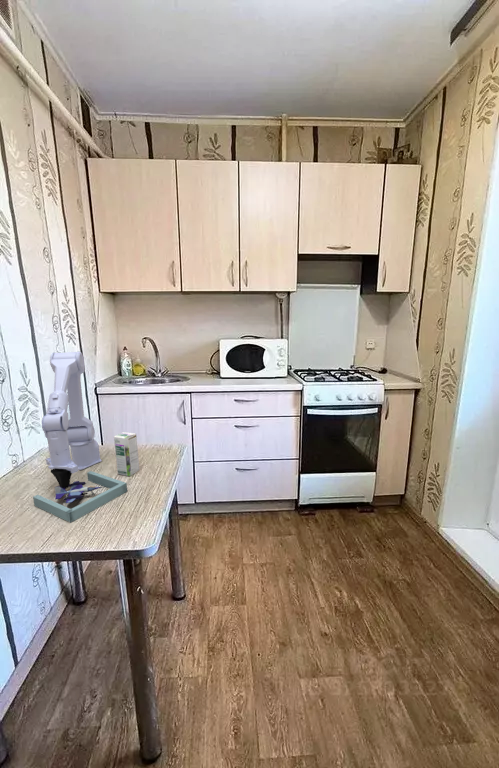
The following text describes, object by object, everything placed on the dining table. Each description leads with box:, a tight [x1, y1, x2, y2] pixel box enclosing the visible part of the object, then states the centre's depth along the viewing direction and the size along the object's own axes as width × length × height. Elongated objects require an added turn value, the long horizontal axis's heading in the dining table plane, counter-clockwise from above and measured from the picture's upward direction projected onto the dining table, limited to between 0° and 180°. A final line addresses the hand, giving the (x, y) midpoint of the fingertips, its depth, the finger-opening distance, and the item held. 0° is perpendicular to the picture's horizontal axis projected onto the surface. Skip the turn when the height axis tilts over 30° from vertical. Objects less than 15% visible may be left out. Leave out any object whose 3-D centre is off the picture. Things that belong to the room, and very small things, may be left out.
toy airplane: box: [54, 480, 107, 504], centre depth 115 cm, size 13×14×4 cm
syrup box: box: [113, 431, 141, 477], centre depth 131 cm, size 6×6×14 cm
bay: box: [32, 470, 128, 523], centre depth 114 cm, size 20×18×3 cm
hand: (65, 488), depth 119 cm, fingers closed
